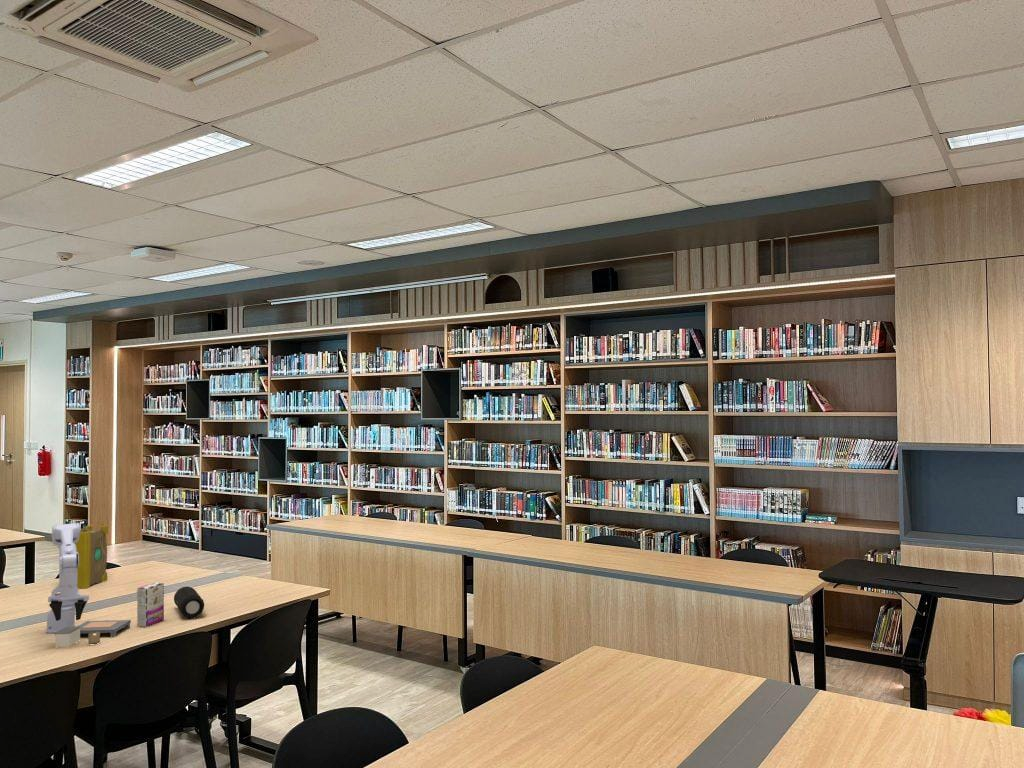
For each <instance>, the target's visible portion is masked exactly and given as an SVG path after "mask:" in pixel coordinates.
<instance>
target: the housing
mask: <svg viewBox="0 0 1024 768" xmlns="http://www.w3.org/2000/svg"><path fill="white" fill-rule="evenodd" d="M79 640H80V641H81V634H80V626H79V625H75V626H67V627H65V628H63V629H61V630H59V631H57V632H56V633H55V644H54V645H55V647H67V648H69V647H68V646H70V647H72V646H73V645H72V644H74V643H76V642H77V643H79V642H80V641H79ZM78 641H79V642H78ZM77 643H76V644H77ZM71 645H72V646H71ZM74 645H75V644H74Z"/></svg>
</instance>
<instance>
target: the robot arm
mask: <svg viewBox="0 0 1024 768" xmlns="http://www.w3.org/2000/svg"><path fill="white" fill-rule="evenodd" d="M80 525H81V524H80V523H79V522H74V523H66V524H65V523H63V524H62V523H61V524H53V525H52V528H51V529H52V531H51V538H52V541H51V542H52V544H53V545H54V546H57V547H58V551H59V556H58V558H59V559H58V566H59V567H58V568H59V569H58V570H59V571H58V572H59V573H58V578H59V579H58V580H59V581H58V585H57V586H56V587H55V588H53V589H52V590H51V594H50V595H51V596H48V598H47V601H48V603H49V605H48V606H49V607H50V610H49V611H48V613H47V616H46V631H45V634H53V633H54V634H56V632H57V631H59V630H61V629H63V628H65V627H67V626H76V625H75V624H76V622H75V621H79V620H81V618H82V614H83V611H84V609H85V606H86V605H87V604H88V601H89V600H90V595H89V594H87V595H86V594H80V592H79V588H77V567H78V566H79V555H78V552H77V550H76V545H75V544H74V543H76V542H78V540H79V536H80V530H81V527H80ZM76 566H77V567H76Z"/></svg>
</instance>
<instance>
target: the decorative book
mask: <svg viewBox="0 0 1024 768" xmlns="http://www.w3.org/2000/svg"><path fill="white" fill-rule="evenodd" d="M108 527H109V526H108V525H102V526H101V525H100V527H99V529H97V530H93V525H86V526H84V527H83V528H80V536H79V540H78V542H76V543H74V544H75V545H76V550H77V552H78V555H79V566H78V567H77V566H76V567H77V588H78V589H86V588H90V587H91V586H92V585H94V584H97V583H98V584H99V583H104V582H103V581H105V580H107V581H108V572H107V563H108V543H107V535H108V533H109V532H108V531H109V529H108ZM105 582H106V581H105Z"/></svg>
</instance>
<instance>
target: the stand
mask: <svg viewBox="0 0 1024 768" xmlns="http://www.w3.org/2000/svg"><path fill="white" fill-rule="evenodd" d="M131 623H132V619H117V620H86V621H84V622H82V623H81V624H78V626H80V635H81V634H89V633H92V632H100V634H106V633H107V634H108V633H110V635H109V636H115V635H116V636H117V632H118V631H119V630H121V629H123V628H125V629H129V628H128V627H130V628H131ZM116 636H115V637H116Z"/></svg>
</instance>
